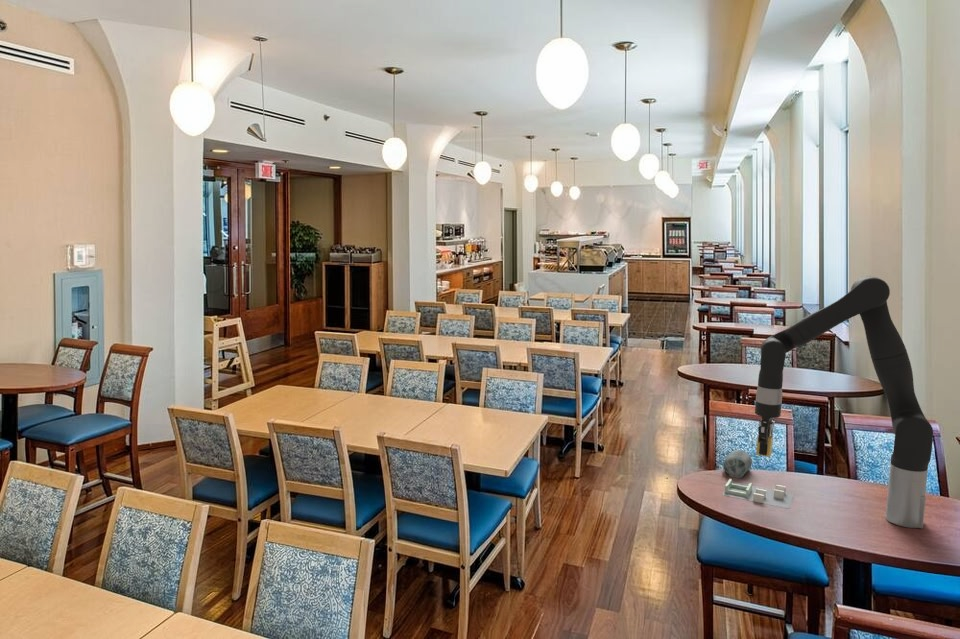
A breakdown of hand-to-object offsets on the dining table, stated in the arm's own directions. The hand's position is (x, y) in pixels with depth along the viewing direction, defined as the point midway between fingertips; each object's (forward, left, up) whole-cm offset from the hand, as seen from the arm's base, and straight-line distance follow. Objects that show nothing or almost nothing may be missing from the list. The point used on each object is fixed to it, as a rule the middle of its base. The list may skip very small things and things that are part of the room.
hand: (764, 452), depth 205 cm
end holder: (+7, -1, -15) cm, 17 cm away
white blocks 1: (0, +2, -15) cm, 15 cm away
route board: (+1, -2, -16) cm, 16 cm away
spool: (+11, -20, -16) cm, 28 cm away
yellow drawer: (0, 0, -1) cm, 1 cm away
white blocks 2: (-5, -5, -15) cm, 17 cm away
